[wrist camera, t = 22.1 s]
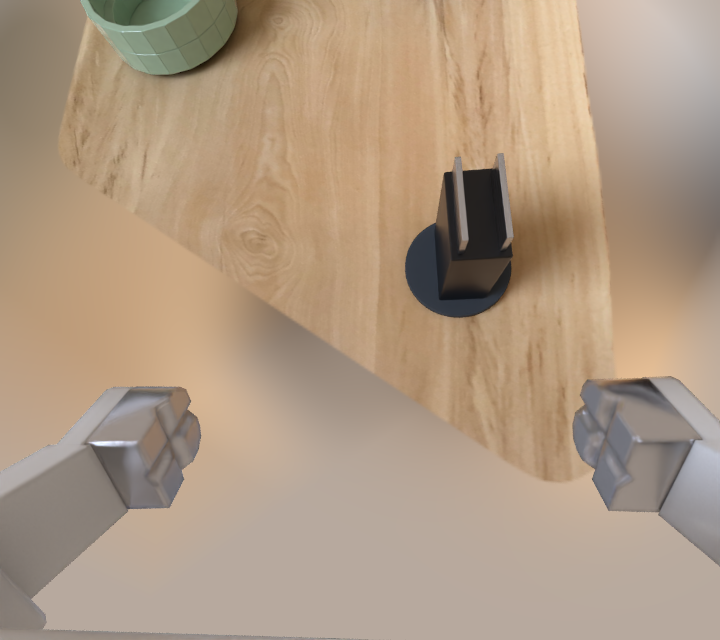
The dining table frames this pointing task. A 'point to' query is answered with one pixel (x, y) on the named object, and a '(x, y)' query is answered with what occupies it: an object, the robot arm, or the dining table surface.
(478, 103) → the dining table surface
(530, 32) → the dining table surface
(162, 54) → the green bowl
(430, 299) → the coaster
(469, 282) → the clip
